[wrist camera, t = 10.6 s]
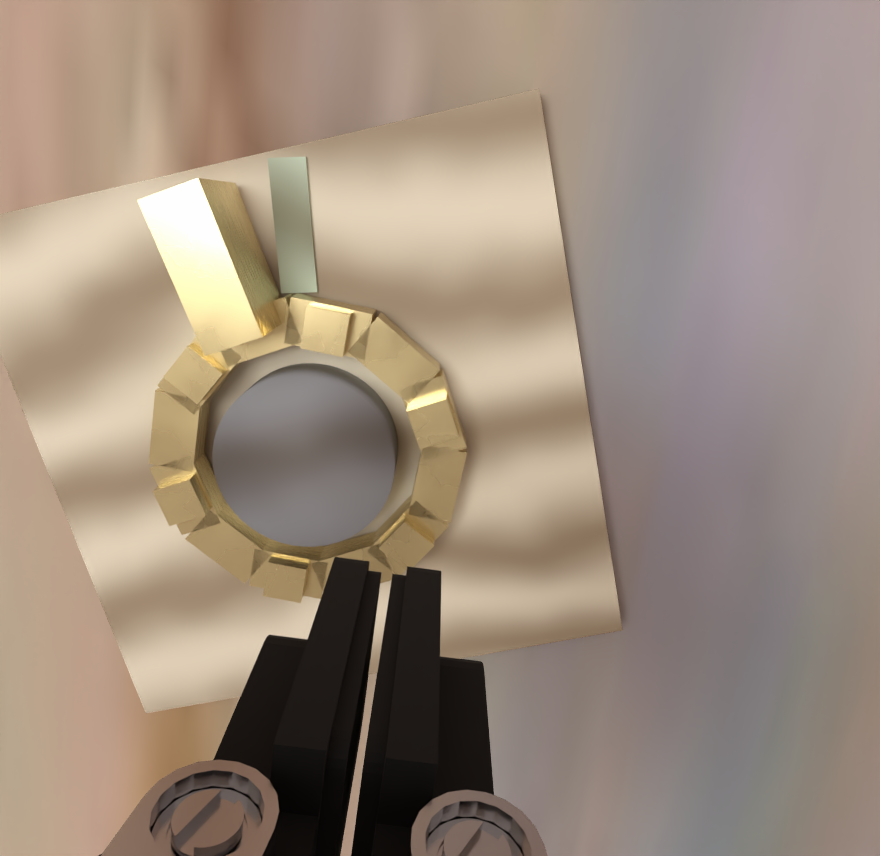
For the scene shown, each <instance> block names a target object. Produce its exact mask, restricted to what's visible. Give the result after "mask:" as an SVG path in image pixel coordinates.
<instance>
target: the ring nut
mask: <svg viewBox="0 0 880 856" xmlns="http://www.w3.org/2000/svg"><path fill="white" fill-rule="evenodd" d="M137 201H138V203H139V206H140V208H141V210H142V213H143V215H144V217H145V219H146V222H147V224H148V226H149V229H150V231H151V233H152V236H153V238H154V240H155V242H156V245H157V247H158V249H159V252H160V254H161V256H162V259H163V261H164V263H165V266H166V268H167V270H168V272H169V275H170V277H171V279H172V282H173V284H174V286H175V289H176V291H177V293H178V295H179V298H180V300H181V302H182V305H183V307H184V309H185V312H186V314H187V316H188V319H189V321H190V323H191V325H192V328H193V330H194V332H195V335H196V337H195V338H194V340H193V341H192V342H191V343H190V345H188V346H187V347H186V349H185V350H184V351H183V352H182V354H181V355H180V356H179V357H178V359H177V360H176V361H175V362H174V364H173V365H172V366H171V367H170V369H169V370H168V371H167V373H166V374H165V375H164V376H163V379H162V380H161V381H160V382H159V384H158V385H157V386H158V387H160V388H158V389H156V390H155V398H154V409H153V420H152V431H151V443H150V454H149V464H153V466H152V467H151V468H150V470H151V473H152V475H153V477H154V479H155V481H156V483H157V485H158V486H157V487H156V488H155V489H154V490H153V493H154V496H155V498H156V500H157V502H158V504H159V506H160V508H161V510H162V512H163V514H164V516H165V518H166V520H167V522H168V524H169V526H172V525H175V524H177V527H178V529H179V531H180V533H181V535H184V534H187V533H189V535H188V536H187V537H186V538H185V540H187V541H188V542H189V543H191V544H192V545H194V546H195V547H196V548H198V549H199V550H200V551H202V552H203V553H204V554H206V555H207V556H208V557H210V558H211V559H212V560H214V561H215V562H216V563H218V564H219V565H220V566H222V567H223V568H224V569H226V570H227V571H228V572H230V573H231V574H232V575H234V576H235V577H236V578H238V579H239V580H240V581H242V582H243V583H244V584H245V582H246V581H247V580H248V579H249V578H250V584H249V586H254V587H259V588H264V591H263V596H265V597H271V598H276V599H281V600H287V601H292V602H297V603H301V601H302V599H303V596H307V597H312V598H317V599H321V597H322V594H323V591H324V588H325V585H326V582H327V579H328V575H329V572H330V569H331V566H332V563H333V560H334V558H335V557H340V558H348V559H356V560H363V561H369V571H376V572H382V573H381V582H380V583H384V582H387V581H391V580H392V574H399V575H401V574H402V573H403V572H404V571H405V570H406V571H407V566H409V567H414V566H415V565H416V564H417V563H418V562H419V561H420V560H421V559H422V558H423V557H424V556H425V555H426V554H427V553H428V552H429V551H430V550H431V549H432V548H433V547H434V541H435V540H436V539H437V538H438V537H439V536H440V535H441V534H442V533H443V532H444V531H445V530H446V529H447V528H448V523H451V519H452V515H453V511H454V507H455V502H456V498H457V494H458V490H459V485H460V481H461V477H462V473H463V468H464V464H465V460H466V456H467V445H466V436H465V433H464V430H463V427H462V424H461V421H460V418H459V415H458V412H457V409H456V406H455V403H454V400H453V397H452V394H451V391H450V388H449V385H448V382H447V379H446V376H445V373H444V370H443V368H442V369H440V363H438V362H437V361H436V360H435V359H434V358H433V357H432V356H431V355H429V354H428V353H427V352H426V351H425V350H424V349H423V348H421V347H420V346H419V345H418V344H417V343H416V342H415V341H414V340H412V339H411V338H410V337H409V336H408V335H407V334H406V333H404V332H403V331H402V330H401V329H400V328H399V327H398V326H397V325H395V324H394V323H393V322H392V321H391V320H390V319H389V318H387V317H386V316H385V315H384V314H383V313H382V312H381V313H380V314H379V315H378V316H377V317H376V318H375V313H376V309H372V308H367V307H363V306H358V305H353V304H348V303H344V302H339V301H334V300H330V299H325V298H320V297H315V296H311V295H306V294H301V293H297V294H295V295H293V293H291V294H289V295H286V296H283V297H280V295H279V292H278V290H277V287H276V285H275V282H274V279H273V277H272V274H271V272H270V269H269V267H268V264H267V262H266V259H265V256H264V254H263V251H262V249H261V246H260V244H259V241H258V239H257V236H256V233H255V231H254V228H253V226H252V223H251V221H250V218H249V216H248V213H247V210H246V208H245V205H244V203H243V200H242V198H241V195H240V193H239V190H238V187H237V185H236V183H233V182H225V181H218V180H210V179H202V178H196V179H194V180H191V181H188V182H185V183H183V184H180V185H177V186H174V187H172V188H169V189H166V190H163V191H161V192H158V193H155V194H152V195H149V196H147V197H144V198H141V199H138V200H137ZM374 318H375V319H374ZM292 345H296V346H300V348H301V349H306V350H310V351H315V352H320V353H325V354H330V355H334V356H339V357H343V356H349V357H354V358H356V359H357V360H358V361H359V362H361V363H362V364H363V365H364V366H365V367H366V368H368V369H369V370H370V371H371V372H372V373H373V374H375V375H376V376H377V377H378V378H379V379H380V380H382V381H383V382H384V383H385V384H386V385H387V386H389V387H390V388H391V389H392V390H393V391H394V392H396V393H397V394H398V395H399V396H400V397H401V398H402V399H403V402H404V405H405V408H406V412H407V415H408V418H409V420H410V423H411V426H412V429H413V432H414V434H415V437H416V440H417V443H418V446H419V448H420V450H421V453H420V457H419V462H418V467H417V471H416V476H415V481H414V485H413V490H412V494H411V495H410V496H409V497H408V498H407V499H406V500H405V501H404V502H403V504H402V505H401V506H400V507H399V508H398V509H397V510H396V511H395V512H394V513H393V514H392V515H391V516H390V517H389V518H388V519H387V520H386V521H385V522H384V523H383V524H382V525H381V526H380V528H379V529H378V530H377V531H376V532H372V533H369V534H366V535H362V536H359V537H355V538H352V539H349V540H345V541H342V542H339V543H335V544H332V545H328V546H325V547H324V546H316V547H303V546H294V545H289V544H285V543H281V542H278V541H275V540H272V539H270V538H268V537H266V536H264V535H262V534H260V533H258V532H257V531H255V530H254V529H252V528H250V527H249V526H248V525H247V524H246V523H244V522H243V521H242V520H241V519H240V518H239V517H238V516H237V515H236V514H235V513H234V512H233V510H232V509H231V508H230V506H229V505H228V504H227V502H226V501H225V499H224V497H223V495H222V493H221V491H220V489H219V486H218V484H217V481H216V477H215V475H214V472H213V470H212V468H211V466H210V464H209V461H208V459H207V457H206V455H205V445H206V436H207V428H208V419H209V410H210V401H211V398H212V397H213V396H214V395H215V394H216V392H217V391H218V390H219V389H220V388H221V386H222V385H223V384H224V383H225V381H226V380H227V379H228V378H229V377H230V375H231V374H232V373H233V372H234V371H235V369H236V368H237V367H238V366H239V364H240V363H241V362H243V361H247V360H250V359H253V358H256V357H259V356H262V355H265V354H268V353H271V352H274V351H277V350H280V349H283V348H286V347H289V346H292Z"/></svg>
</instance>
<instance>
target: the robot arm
mask: <svg viewBox="0 0 880 856" xmlns="http://www.w3.org/2000/svg"><path fill="white" fill-rule="evenodd" d="M381 573H382V572H376V571H369V561H363V560H356V559H348V558H340V557H335V558H334V560H333V563H332V566H331V569H330V572H329V575H328V579H327V582H326V585H325V588H324V591H323V594H322V597H321V600H320V603H319V606H318V609H317V612H316V615H315V618H314V621H313V624H312V627H311V630H310V633H309V636H308V639H300V638H293V637H285V636H277V635H268V636H267V637H266V639H265V641H264V643H263V645H262V648H261V650H260V652H259V655H258V657H257V659H256V662H255V664H254V666H253V669H252V671H251V673H250V676H249V678H248V680H247V683H246V685H245V687H244V690H243V692H242V695H241V697H240V699H239V702H238V704H237V706H236V709H235V711H234V713H233V716H232V718H231V720H230V723H229V725H228V727H227V730H226V732H225V734H224V737H223V739H222V741H221V744H220V746H219V748H218V751H217V753H216V755H215V758H214V760H211V761H203V762H196V763H194V764H191V765H188V766H185V767H182V768H179V769H177V770H175V771H174V772H172V773H170V774H169V775H167V776H166V777H164V778H162V779H161V780H159V781H158V782H157V783H156V784H155V785H154V786H153V787H152V788H151V789H150V790H149V791H148V792H147V793H146V794H145V796H144V797H143V798H142V799H141V801H140V802H139V804H138V805H137V806H136V808H135V809H134V811H133V812H132V813H131V815H130V816H129V817H128V819H127V820H126V822H125V823H124V824H123V826H122V827H121V829H120V830H119V831H118V833H117V834H116V835H115V837H114V838H113V840H112V841H111V842H110V844H109V845H108V847H107V848H106V849H105V851H104V852H103V853H102V854H101V855H99V856H340V853H341V847H342V841H343V835H344V829H345V823H346V817H347V811H348V805H349V799H350V793H351V787H352V781H353V776H354V770H355V764H356V758H357V752H358V746H359V740H360V733H361V727H362V720H363V713H364V705H365V697H366V689H367V682H368V674H369V666H370V659H371V651H372V643H373V636H374V628H375V620H376V613H377V605H378V597H379V590H380V582H381ZM440 629H441V571H439V570H432V569H424V568H416V567H409V566H407V572H406V575H399V574H392V581H391V587H390V594H389V600H388V607H387V613H386V620H385V626H384V633H383V639H382V646H381V653H380V659H379V666H378V672H377V679H376V685H375V692H374V698H373V705H372V711H371V718H370V724H369V731H368V738H367V744H366V751H365V758H364V765H363V772H362V780H361V787H360V795H359V802H358V810H357V817H356V825H355V832H354V839H353V847H352V854H351V856H547V853H546V850H545V846H544V843H543V841H542V839H541V837H540V835H539V833H538V831H537V829H536V827H535V826H534V824H533V823H532V822H531V821H530V820H529V819H528V818H527V817H526V815H525V814H524V813H523V812H522V811H521V810H519V809H518V808H517V807H515V806H514V805H512V804H511V803H509V802H508V801H506V800H505V799H502V798H500V797H497V796H495V795H494V791H493V778H492V766H491V753H490V740H489V727H488V714H487V702H486V689H485V676H484V667H483V663H482V662H481V661H473V660H465V659H457V658H449V657H441V656H440Z"/></svg>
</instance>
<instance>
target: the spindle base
mask: <svg viewBox="0 0 880 856" xmlns="http://www.w3.org/2000/svg"><path fill="white" fill-rule="evenodd" d="M196 178H202V179H210V180H218V181H225V182H233V183H236V185H237V187H238V190H239V193H240V195H241V198H242V200H243V203H244V205H245V208H246V210H247V213H248V216H249V218H250V221H251V223H252V226H253V228H254V231H255V233H256V236H257V239H258V241H259V244H260V246H261V249H262V251H263V254H264V256H265V259H266V262H267V264H268V267H269V269H270V272H271V274H272V277H273V279H274V282H275V285H276V287H277V290H278V292H279V295H280V297H283V296H286V295H289V294H291V293H293V295H295V294H297V293H301V294H306V295H311V296H315V297H320V298H325V299H330V300H334V301H339V302H344V303H348V304H353V305H358V306H363V307H367V308H372V309H376V313H375V318H376V317H377V316H378V315H379V314H380V313H381V312H382V313H383V314H384V315H385V316H386V317H387V318H389V319H390V320H391V321H392V322H393V323H394V324H395V325H397V326H398V327H399V328H400V329H401V330H402V331H403V332H404V333H406V334H407V335H408V336H409V337H410V338H411V339H412V340H414V341H415V342H416V343H417V344H418V345H419V346H420V347H421V348H423V349H424V350H425V351H426V352H427V353H428V354H429V355H431V356H432V357H433V358H434V359H435V360H436V361H437V362H438V363H440V369H442V368H443V370H444V373H445V376H446V379H447V382H448V385H449V388H450V391H451V394H452V397H453V400H454V403H455V406H456V409H457V412H458V415H459V418H460V421H461V424H462V427H463V430H464V433H465V436H466V445H467V456H466V460H465V464H464V468H463V473H462V477H461V481H460V485H459V490H458V494H457V498H456V502H455V507H454V511H453V515H452V519H451V523H448V528H447V529H446V530H445V531H444V532H443V533H442V534H441V535H440V536H439V537H438V538H437V539H436V540H435V541H434V547H433V548H432V549H431V550H430V551H429V552H428V553H427V554H426V555H425V556H424V557H423V558H422V559H421V560H420V561H419V562H418V563H417V564H416V565H415V566H414V567H416V568H424V569H432V570H439V571H441V629H440V656H441V657H449V658H457V659H460V658H466V657H472V656H478V655H483V654H489V653H495V652H501V651H506V650H512V649H518V648H524V647H529V646H535V645H541V644H547V643H552V642H558V641H564V640H570V639H575V638H581V637H587V636H593V635H598V634H604V633H610V632H616V631H621V630H622V623H621V617H620V610H619V604H618V597H617V591H616V584H615V578H614V571H613V565H612V558H611V552H610V545H609V539H608V532H607V526H606V519H605V513H604V506H603V500H602V493H601V487H600V480H599V474H598V467H597V461H596V454H595V448H594V441H593V435H592V428H591V422H590V415H589V409H588V402H587V396H586V389H585V383H584V376H583V370H582V363H581V357H580V350H579V344H578V337H577V331H576V324H575V318H574V311H573V305H572V298H571V292H570V285H569V279H568V272H567V266H566V259H565V253H564V246H563V240H562V233H561V227H560V220H559V214H558V208H557V201H556V195H555V188H554V182H553V175H552V169H551V162H550V156H549V149H548V143H547V136H546V130H545V123H544V117H543V110H542V104H541V97H540V91H539V89H536V90H531V91H527V92H523V93H518V94H514V95H510V96H505V97H501V98H497V99H493V100H488V101H484V102H480V103H475V104H471V105H467V106H462V107H458V108H454V109H450V110H445V111H441V112H437V113H432V114H428V115H424V116H419V117H415V118H411V119H407V120H402V121H398V122H394V123H389V124H385V125H381V126H376V127H372V128H368V129H364V130H359V131H355V132H351V133H346V134H342V135H338V136H333V137H329V138H325V139H321V140H316V141H312V142H308V143H303V144H299V145H295V146H290V147H286V148H282V149H278V150H273V151H269V152H265V153H260V154H256V155H252V156H248V157H243V158H239V159H235V160H230V161H226V162H222V163H217V164H213V165H209V166H205V167H200V168H196V169H192V170H187V171H183V172H179V173H174V174H170V175H166V176H162V177H157V178H153V179H149V180H144V181H140V182H136V183H131V184H127V185H123V186H119V187H114V188H110V189H106V190H101V191H97V192H93V193H88V194H84V195H80V196H76V197H71V198H67V199H63V200H58V201H54V202H50V203H45V204H41V205H37V206H33V207H28V208H24V209H20V210H15V211H11V212H7V213H2V214H0V355H1V358H2V360H3V362H4V365H5V367H6V370H7V372H8V375H9V377H10V380H11V382H12V385H13V387H14V390H15V392H16V395H17V397H18V399H19V402H20V404H21V407H22V409H23V412H24V414H25V417H26V419H27V422H28V424H29V427H30V429H31V431H32V434H33V436H34V439H35V441H36V444H37V446H38V449H39V451H40V454H41V456H42V459H43V461H44V464H45V466H46V468H47V471H48V473H49V476H50V478H51V481H52V483H53V486H54V488H55V491H56V493H57V496H58V498H59V501H60V503H61V505H62V508H63V510H64V513H65V515H66V518H67V520H68V523H69V525H70V528H71V530H72V533H73V535H74V537H75V540H76V542H77V545H78V547H79V550H80V552H81V555H82V557H83V560H84V562H85V565H86V567H87V570H88V572H89V574H90V577H91V579H92V582H93V584H94V587H95V589H96V592H97V594H98V597H99V599H100V602H101V604H102V607H103V609H104V611H105V614H106V616H107V619H108V621H109V624H110V626H111V629H112V631H113V634H114V636H115V639H116V641H117V643H118V646H119V648H120V651H121V653H122V656H123V658H124V661H125V663H126V666H127V668H128V671H129V673H130V676H131V678H132V680H133V683H134V685H135V688H136V690H137V693H138V695H139V698H140V700H141V703H142V705H143V708H144V710H145V713H150V712H156V711H161V710H167V709H173V708H179V707H184V706H190V705H196V704H202V703H207V702H213V701H219V700H225V699H230V698H236V697H241V695H242V692H243V690H244V687H245V685H246V683H247V680H248V678H249V676H250V673H251V671H252V669H253V666H254V664H255V662H256V659H257V657H258V655H259V652H260V650H261V648H262V645H263V643H264V641H265V639H266V637H267V636H268V635H277V636H285V637H293V638H300V639H308V636H309V633H310V630H311V627H312V624H313V621H314V618H315V615H316V612H317V609H318V606H319V603H320V600H321V599H317V598H312V597H307V596H303V599H302V601H301V603H297V602H292V601H287V600H281V599H276V598H271V597H265V596H263V591H264V588H259V587H254V586H249V584H250V578H249V579H248V580H247V581H246V582H245V584H244V583H243V582H242V581H240V580H239V579H238V578H236V577H235V576H234V575H232V574H231V573H230V572H228V571H227V570H226V569H224V568H223V567H222V566H220V565H219V564H218V563H216V562H215V561H214V560H212V559H211V558H210V557H208V556H207V555H206V554H204V553H203V552H202V551H200V550H199V549H198V548H196V547H195V546H194V545H192V544H191V543H189V542H188V541H187V540H185V538H186V537H187V536H188V535H189V533H187V534H184V535H181V533H180V531H179V529H178V527H177V524H175V525H172V526H169V524H168V522H167V520H166V518H165V516H164V514H163V512H162V510H161V508H160V506H159V504H158V502H157V500H156V498H155V496H154V493H153V490H154V489H155V488H156V487H157V486H158V485H157V483H156V481H155V479H154V477H153V475H152V473H151V470H150V468H151V467H152V466H153V464H149V454H150V443H151V431H152V420H153V409H154V398H155V390H156V389H158V388H160V387H158V386H157V385H158V384H159V382H160V381H161V380H162V379H163V376H164V375H165V374H166V373H167V371H168V370H169V369H170V367H171V366H172V365H173V364H174V362H175V361H176V360H177V359H178V357H179V356H180V355H181V354H182V352H183V351H184V350H185V349H186V347H187V346H188V345H190V343H191V342H192V341H193V340H194V338H195V337H196V335H195V332H194V330H193V328H192V325H191V323H190V321H189V319H188V316H187V314H186V312H185V309H184V307H183V305H182V302H181V300H180V298H179V295H178V293H177V291H176V289H175V286H174V284H173V282H172V279H171V277H170V275H169V272H168V270H167V268H166V266H165V263H164V261H163V259H162V256H161V254H160V252H159V249H158V247H157V245H156V242H155V240H154V238H153V236H152V233H151V231H150V229H149V226H148V224H147V222H146V219H145V217H144V215H143V213H142V210H141V208H140V206H139V203H138V201H137V200H138V199H141V198H144V197H147V196H149V195H152V194H155V193H158V192H161V191H163V190H166V189H169V188H172V187H174V186H177V185H180V184H183V183H185V182H188V181H191V180H194V179H196ZM375 318H374V319H375ZM420 453H421V450H420V448H419V446H418V443H417V440H416V437H415V434H414V432H413V429H412V426H411V423H410V420H409V418H408V415H407V412H406V408H405V405H404V402H403V399H402V398H401V397H400V396H399V395H398V394H397V393H396V392H394V391H393V390H392V389H391V388H390V387H389V386H387V385H386V384H385V383H384V382H383V381H382V380H380V379H379V378H378V377H377V376H376V375H375V374H373V373H372V372H371V371H370V370H369V369H368V368H366V367H365V366H364V365H363V364H362V363H361V362H359V361H358V360H357V359H356V358H354V357H349V356H343V357H339V356H334V355H330V354H325V353H320V352H315V351H310V350H306V349H301V348H300V346H296V345H292V346H289V347H286V348H283V349H280V350H277V351H274V352H271V353H268V354H265V355H262V356H259V357H256V358H253V359H250V360H247V361H243V362H241V363H240V364H239V366H238V367H237V368H236V369H235V371H234V372H233V373H232V374H231V375H230V377H229V378H228V379H227V380H226V381H225V383H224V384H223V385H222V386H221V388H220V389H219V390H218V391H217V392H216V394H215V395H214V396H213V397H212V398H211V401H210V410H209V419H208V428H207V436H206V445H205V455H206V457H207V459H208V461H209V464H210V466H211V468H212V470H213V472H214V475H215V477H216V481H217V484H218V486H219V489H220V491H221V493H222V495H223V497H224V499H225V501H226V502H227V504H228V505H229V506H230V508H231V509H232V510H233V512H234V513H235V514H236V515H237V516H238V517H239V518H240V519H241V520H242V521H243V522H244V523H246V524H247V525H248V526H249V527H250V528H252V529H254V530H255V531H257V532H258V533H260V534H262V535H264V536H266V537H268V538H270V539H272V540H275V541H278V542H281V543H285V544H289V545H294V546H303V547H316V546H324V547H325V546H328V545H332V544H335V543H339V542H342V541H345V540H349V539H352V538H355V537H359V536H362V535H366V534H369V533H372V532H376V531H377V530H378V529H379V528H380V526H381V525H382V524H383V523H384V522H385V521H386V520H387V519H388V518H389V517H390V516H391V515H392V514H393V513H394V512H395V511H396V510H397V509H398V508H399V507H400V506H401V505H402V504H403V502H404V501H405V500H406V499H407V498H408V497H409V496H410V495H411V494H412V490H413V485H414V481H415V476H416V471H417V467H418V462H419V457H420ZM406 572H407V571H406V570H405V571H404V572H403V573H402V574H401V575H406ZM391 581H392V580H391ZM391 581H387V582H384V583H380V590H379V597H378V605H377V613H376V620H375V628H374V636H373V643H372V651H371V659H370V666H369V674H374V673H377V672H378V666H379V659H380V653H381V646H382V639H383V633H384V626H385V620H386V613H387V607H388V600H389V594H390V587H391Z"/></svg>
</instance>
